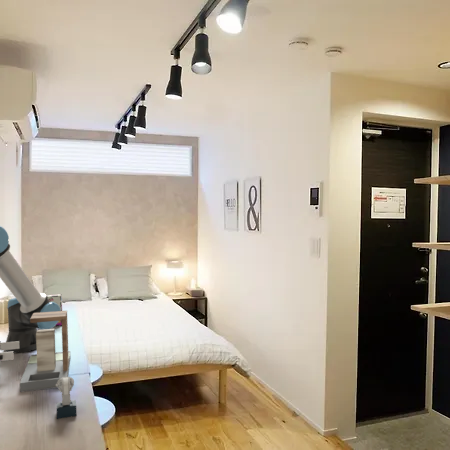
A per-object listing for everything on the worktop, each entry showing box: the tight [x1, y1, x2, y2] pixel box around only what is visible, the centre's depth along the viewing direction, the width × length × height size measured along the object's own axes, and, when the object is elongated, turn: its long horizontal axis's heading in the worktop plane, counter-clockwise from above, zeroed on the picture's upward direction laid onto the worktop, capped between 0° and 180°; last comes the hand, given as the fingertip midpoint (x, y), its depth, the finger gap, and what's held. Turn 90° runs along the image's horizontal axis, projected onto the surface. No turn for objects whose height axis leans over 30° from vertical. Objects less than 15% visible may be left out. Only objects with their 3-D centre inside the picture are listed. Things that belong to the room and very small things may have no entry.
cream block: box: [36, 328, 56, 372], centre depth 174 cm, size 5×6×14 cm
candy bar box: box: [45, 293, 63, 327], centre depth 253 cm, size 11×5×16 cm, turn 105°
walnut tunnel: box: [30, 310, 69, 371], centre depth 174 cm, size 10×12×20 cm
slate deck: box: [19, 350, 71, 393], centre depth 178 cm, size 33×15×3 cm, turn 16°
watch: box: [56, 376, 77, 420], centre depth 141 cm, size 6×8×11 cm
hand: (16, 349), depth 171 cm, fingers open, 13 cm apart
